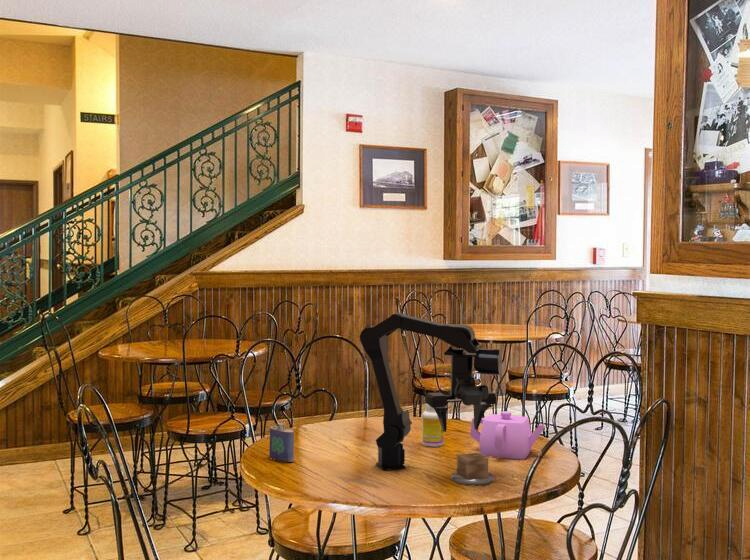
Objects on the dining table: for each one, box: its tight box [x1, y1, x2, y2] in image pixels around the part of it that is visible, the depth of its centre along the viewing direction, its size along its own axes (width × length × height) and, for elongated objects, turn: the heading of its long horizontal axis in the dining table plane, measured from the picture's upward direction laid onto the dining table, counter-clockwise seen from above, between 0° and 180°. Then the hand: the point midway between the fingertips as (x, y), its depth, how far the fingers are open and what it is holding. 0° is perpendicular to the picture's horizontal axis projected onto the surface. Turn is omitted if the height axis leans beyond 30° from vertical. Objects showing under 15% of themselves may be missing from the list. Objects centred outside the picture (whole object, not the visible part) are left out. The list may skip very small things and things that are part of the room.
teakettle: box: [469, 410, 546, 460], centre depth 216 cm, size 17×17×12 cm
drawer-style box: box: [456, 452, 489, 480], centre depth 190 cm, size 6×6×5 cm
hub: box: [450, 470, 495, 487], centre depth 190 cm, size 11×11×4 cm
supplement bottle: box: [421, 403, 445, 448], centre depth 226 cm, size 7×7×13 cm
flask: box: [268, 422, 295, 463], centre depth 208 cm, size 9×3×11 cm, turn 50°
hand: (460, 430), depth 195 cm, fingers open, 9 cm apart
